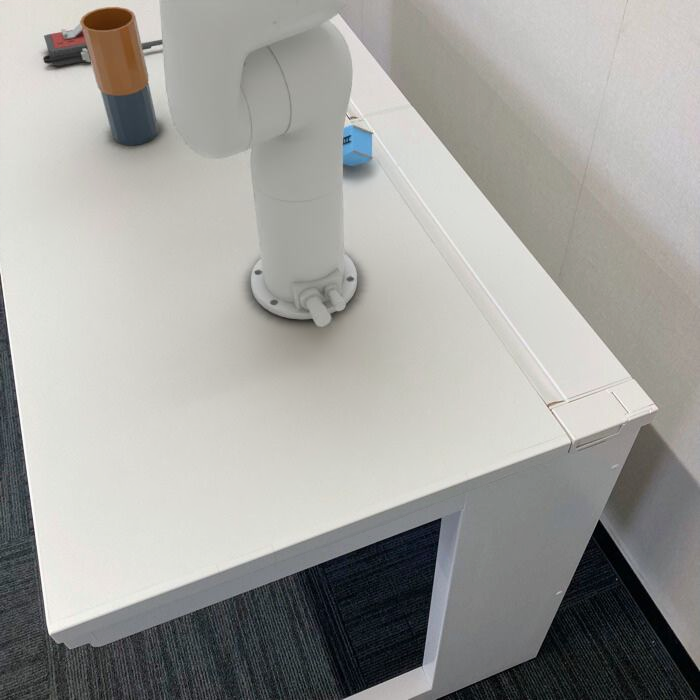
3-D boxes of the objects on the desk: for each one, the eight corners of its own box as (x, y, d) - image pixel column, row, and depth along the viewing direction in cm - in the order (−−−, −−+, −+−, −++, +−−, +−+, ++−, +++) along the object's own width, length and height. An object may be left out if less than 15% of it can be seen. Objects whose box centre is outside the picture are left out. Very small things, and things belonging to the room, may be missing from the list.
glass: (154, 89, 106) (140, 25, 100) (103, 100, 104) (85, 35, 98) (142, 65, 111) (128, 3, 104) (93, 76, 109) (75, 12, 102)
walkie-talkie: (48, 75, 124) (170, 52, 129) (39, 49, 121) (165, 26, 126) (41, 51, 130) (158, 29, 135) (33, 25, 127) (153, 4, 132)
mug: (163, 139, 112) (152, 88, 106) (118, 149, 111) (104, 99, 105) (147, 107, 118) (136, 57, 112) (104, 116, 116) (90, 67, 110)
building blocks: (315, 180, 113) (374, 160, 105) (271, 166, 108) (330, 144, 99) (316, 128, 114) (374, 104, 106) (273, 112, 108) (331, 85, 100)
